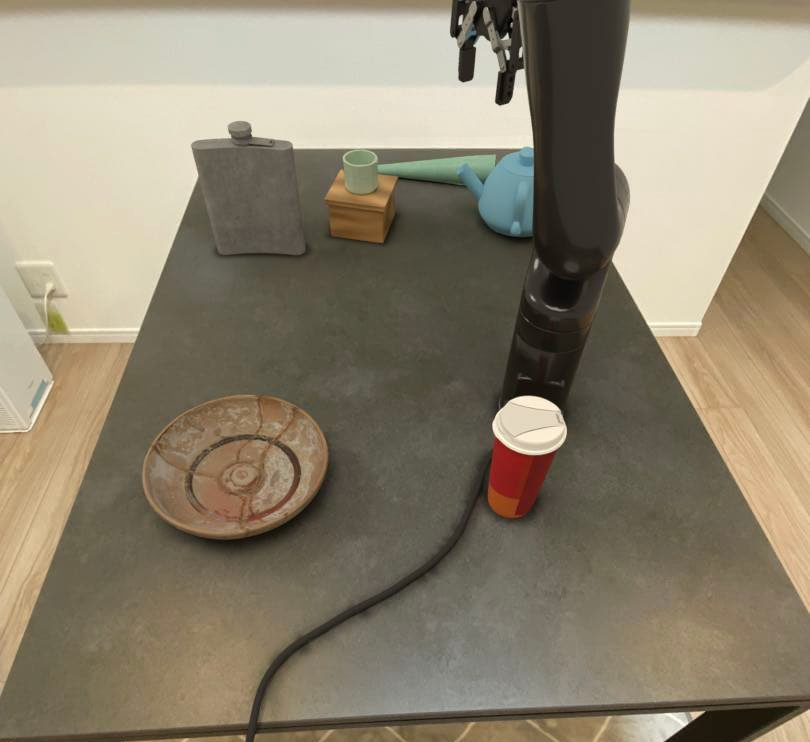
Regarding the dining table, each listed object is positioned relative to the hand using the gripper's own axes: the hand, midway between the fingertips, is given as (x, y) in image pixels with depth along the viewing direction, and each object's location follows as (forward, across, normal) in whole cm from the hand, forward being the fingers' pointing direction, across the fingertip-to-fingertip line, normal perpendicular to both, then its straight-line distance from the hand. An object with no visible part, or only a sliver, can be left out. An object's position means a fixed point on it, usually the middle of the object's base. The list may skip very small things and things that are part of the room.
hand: (483, 92), depth 82 cm
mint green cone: (+28, -32, +13) cm, 45 cm away
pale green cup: (+21, -24, -7) cm, 32 cm away
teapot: (+28, -11, +17) cm, 35 cm away
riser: (+28, -24, -7) cm, 37 cm away
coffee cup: (+28, +43, -23) cm, 57 cm away
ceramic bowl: (+28, +22, -52) cm, 63 cm away
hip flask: (+28, -26, -27) cm, 47 cm away
